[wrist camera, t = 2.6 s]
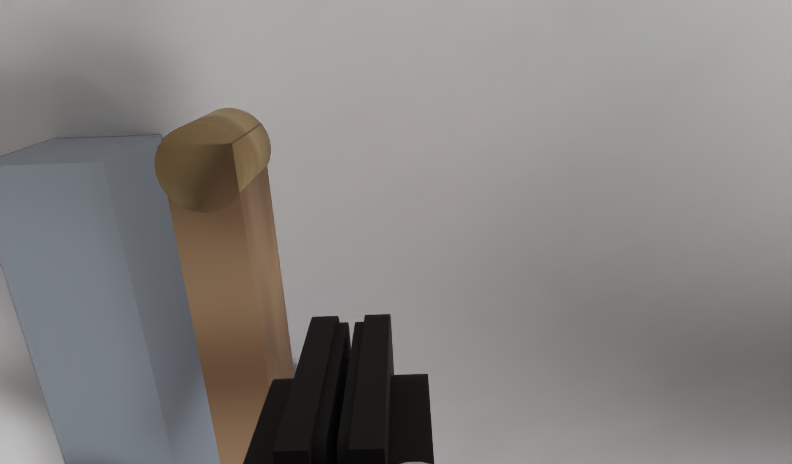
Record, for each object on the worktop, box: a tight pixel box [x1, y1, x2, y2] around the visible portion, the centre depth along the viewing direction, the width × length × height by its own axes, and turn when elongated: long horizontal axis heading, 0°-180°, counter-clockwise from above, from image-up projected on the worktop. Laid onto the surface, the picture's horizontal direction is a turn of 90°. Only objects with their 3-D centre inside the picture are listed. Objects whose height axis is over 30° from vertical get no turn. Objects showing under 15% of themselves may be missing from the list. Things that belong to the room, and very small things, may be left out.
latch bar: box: [155, 108, 294, 464], centre depth 19 cm, size 18×4×3 cm, turn 3°
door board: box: [0, 135, 221, 464], centre depth 25 cm, size 5×24×9 cm, turn 3°
